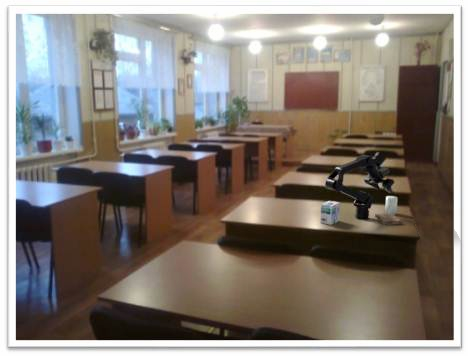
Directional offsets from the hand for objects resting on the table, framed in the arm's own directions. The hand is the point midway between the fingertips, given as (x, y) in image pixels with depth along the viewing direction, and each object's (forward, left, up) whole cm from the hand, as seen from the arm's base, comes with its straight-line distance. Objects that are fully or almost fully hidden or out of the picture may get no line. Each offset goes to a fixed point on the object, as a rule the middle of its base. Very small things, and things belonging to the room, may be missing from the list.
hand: (385, 191), depth 255 cm
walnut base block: (-2, -13, -14) cm, 20 cm away
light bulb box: (-35, -15, -14) cm, 41 cm away
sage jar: (+5, +2, -14) cm, 15 cm away
